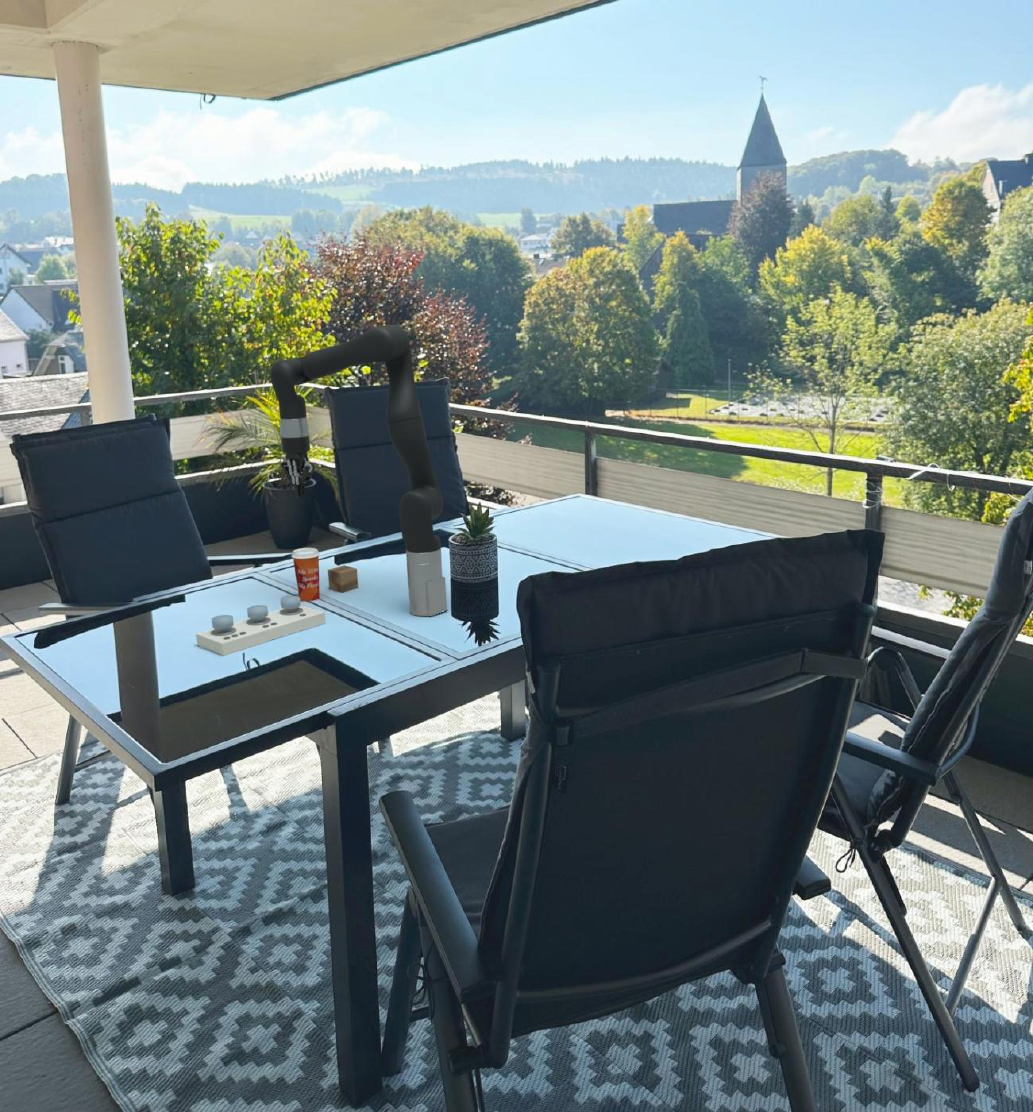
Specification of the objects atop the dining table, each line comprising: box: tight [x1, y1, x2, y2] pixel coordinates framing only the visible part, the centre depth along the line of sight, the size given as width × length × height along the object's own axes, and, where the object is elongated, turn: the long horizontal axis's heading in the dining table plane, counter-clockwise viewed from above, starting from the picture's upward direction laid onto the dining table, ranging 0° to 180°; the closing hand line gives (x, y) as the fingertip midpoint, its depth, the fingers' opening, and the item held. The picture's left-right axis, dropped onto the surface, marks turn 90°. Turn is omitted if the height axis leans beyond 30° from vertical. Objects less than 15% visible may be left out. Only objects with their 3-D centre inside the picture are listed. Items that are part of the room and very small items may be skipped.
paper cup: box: [291, 547, 321, 602], centre depth 281 cm, size 8×8×14 cm
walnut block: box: [327, 565, 359, 594], centre depth 290 cm, size 6×6×6 cm
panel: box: [195, 605, 326, 656], centre depth 253 cm, size 12×30×3 cm, turn 137°
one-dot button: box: [279, 595, 302, 609], centre depth 260 cm, size 5×5×2 cm
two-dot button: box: [246, 604, 269, 619], centre depth 253 cm, size 5×5×2 cm
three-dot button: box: [211, 614, 234, 629], centre depth 246 cm, size 5×5×2 cm
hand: (300, 497), depth 275 cm, fingers closed
